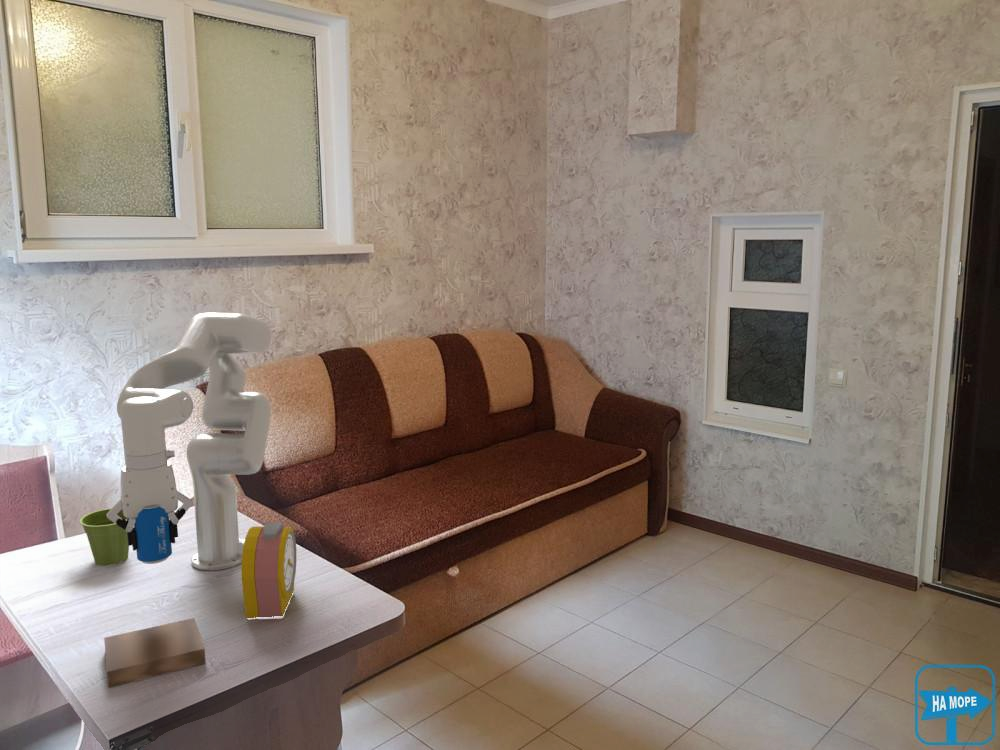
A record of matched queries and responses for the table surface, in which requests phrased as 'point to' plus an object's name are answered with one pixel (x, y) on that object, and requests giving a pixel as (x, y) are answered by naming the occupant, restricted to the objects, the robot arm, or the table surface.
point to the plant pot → (106, 537)
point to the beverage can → (153, 535)
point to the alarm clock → (268, 569)
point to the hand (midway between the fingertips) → (153, 543)
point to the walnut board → (153, 651)
